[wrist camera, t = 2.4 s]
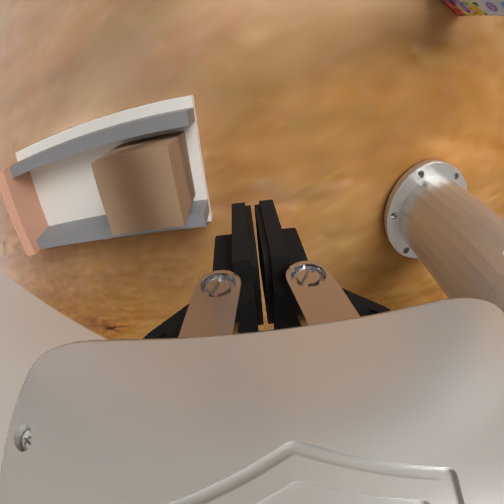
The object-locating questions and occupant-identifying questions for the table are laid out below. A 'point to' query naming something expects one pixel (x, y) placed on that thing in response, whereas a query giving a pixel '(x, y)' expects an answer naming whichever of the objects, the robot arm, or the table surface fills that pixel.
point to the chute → (91, 175)
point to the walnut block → (146, 184)
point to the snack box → (476, 7)
